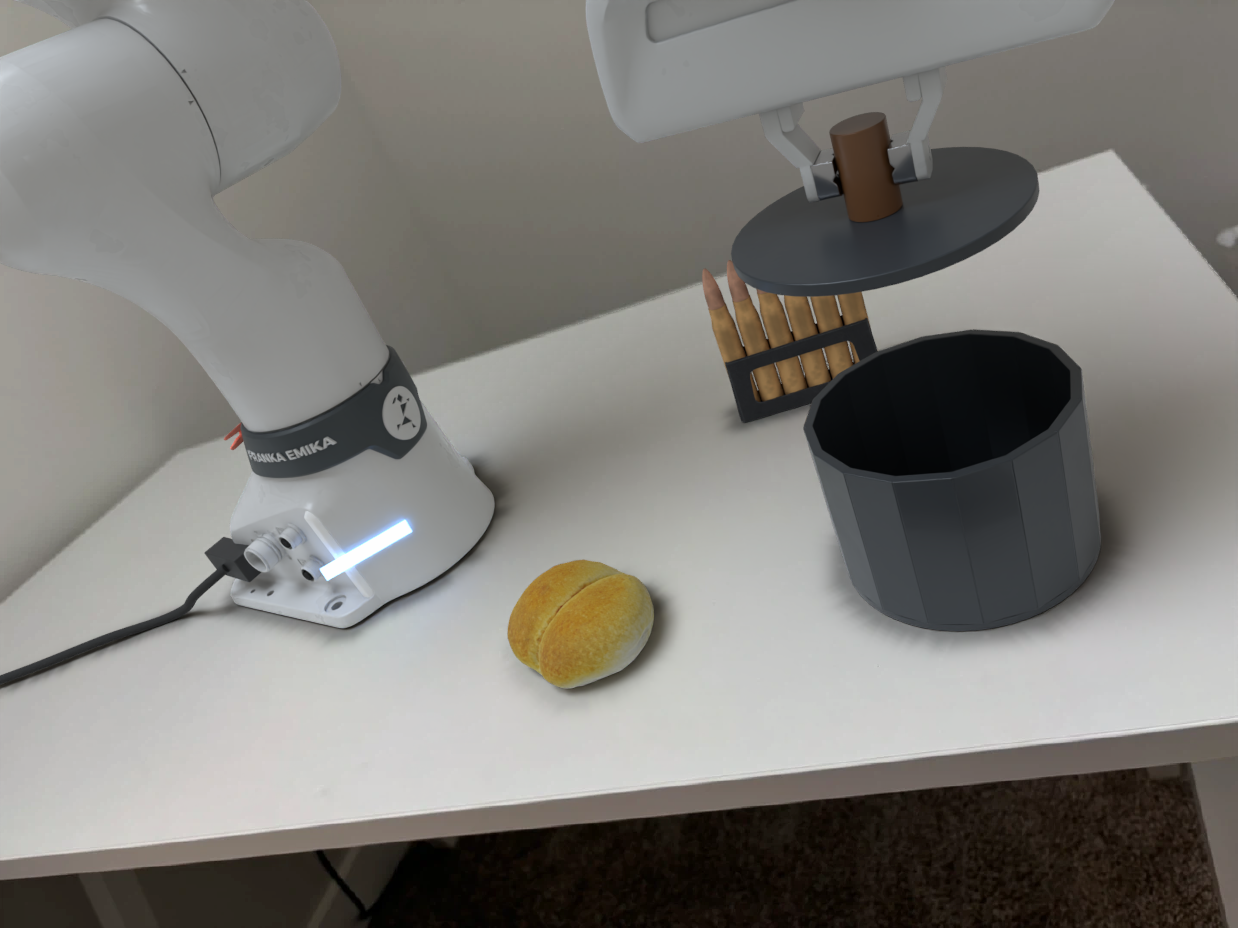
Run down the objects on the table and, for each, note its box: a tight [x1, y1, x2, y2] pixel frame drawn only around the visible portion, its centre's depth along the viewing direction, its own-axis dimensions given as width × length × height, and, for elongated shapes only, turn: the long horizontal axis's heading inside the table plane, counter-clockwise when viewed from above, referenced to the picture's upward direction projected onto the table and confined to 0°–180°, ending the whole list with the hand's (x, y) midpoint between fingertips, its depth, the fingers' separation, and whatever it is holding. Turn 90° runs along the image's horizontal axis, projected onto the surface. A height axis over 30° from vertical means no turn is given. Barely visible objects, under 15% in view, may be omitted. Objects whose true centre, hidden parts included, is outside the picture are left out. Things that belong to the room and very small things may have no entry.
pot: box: [802, 328, 1102, 632], centre depth 49 cm, size 13×13×10 cm
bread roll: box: [507, 559, 655, 689], centre depth 55 cm, size 8×9×4 cm
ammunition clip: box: [701, 259, 879, 424], centre depth 67 cm, size 11×2×12 cm, turn 89°
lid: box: [730, 111, 1040, 298], centre depth 42 cm, size 13×13×5 cm
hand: (869, 186), depth 42 cm, fingers closed on lid, 2 cm apart
